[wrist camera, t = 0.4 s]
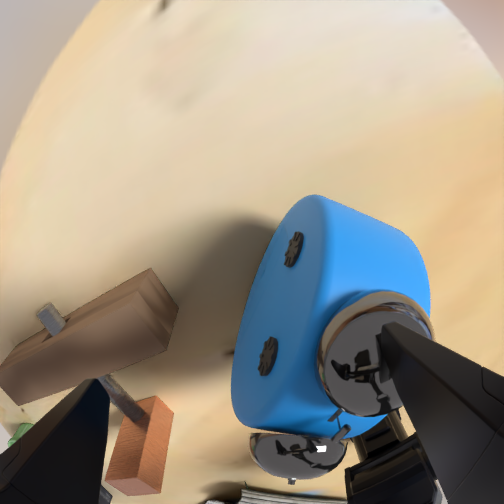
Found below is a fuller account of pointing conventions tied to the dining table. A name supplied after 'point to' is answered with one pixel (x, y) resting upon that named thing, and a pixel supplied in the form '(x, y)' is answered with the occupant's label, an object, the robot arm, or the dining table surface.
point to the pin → (130, 431)
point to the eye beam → (93, 340)
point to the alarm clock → (323, 335)
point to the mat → (275, 499)
